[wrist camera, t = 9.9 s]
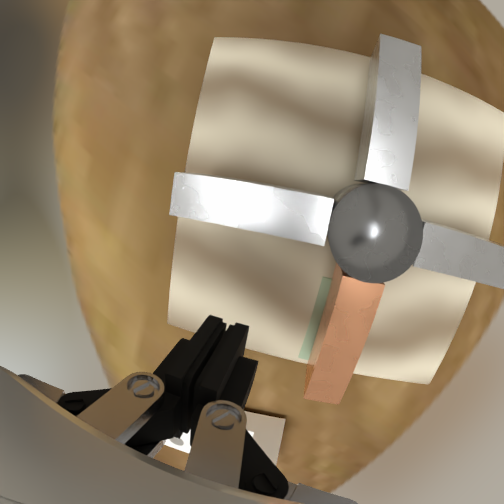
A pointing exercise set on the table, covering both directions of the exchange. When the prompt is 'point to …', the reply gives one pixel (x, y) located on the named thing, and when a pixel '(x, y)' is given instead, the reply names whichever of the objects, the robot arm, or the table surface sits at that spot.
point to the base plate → (328, 183)
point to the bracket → (259, 427)
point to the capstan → (354, 220)
